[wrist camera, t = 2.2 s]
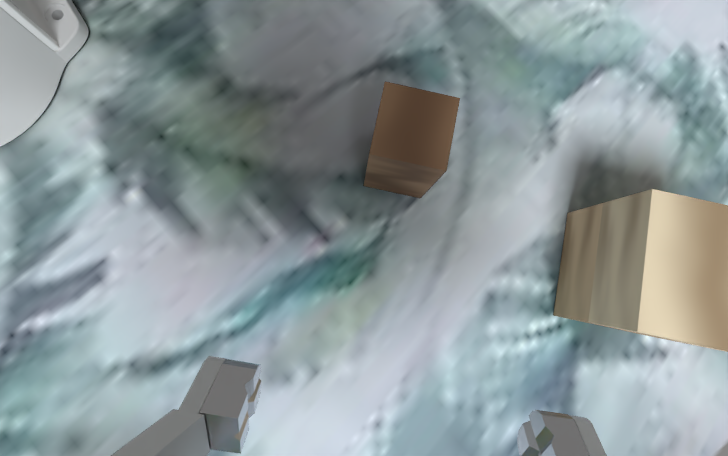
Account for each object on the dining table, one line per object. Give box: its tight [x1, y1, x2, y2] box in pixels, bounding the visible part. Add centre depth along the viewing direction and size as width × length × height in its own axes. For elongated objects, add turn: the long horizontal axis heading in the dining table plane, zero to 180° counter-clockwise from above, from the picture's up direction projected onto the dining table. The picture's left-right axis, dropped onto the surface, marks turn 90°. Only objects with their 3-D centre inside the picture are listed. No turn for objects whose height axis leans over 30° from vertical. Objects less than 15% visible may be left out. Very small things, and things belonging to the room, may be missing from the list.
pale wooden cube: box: [554, 189, 728, 352], centre depth 24 cm, size 8×8×8 cm
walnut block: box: [364, 82, 460, 198], centre depth 25 cm, size 4×4×8 cm
